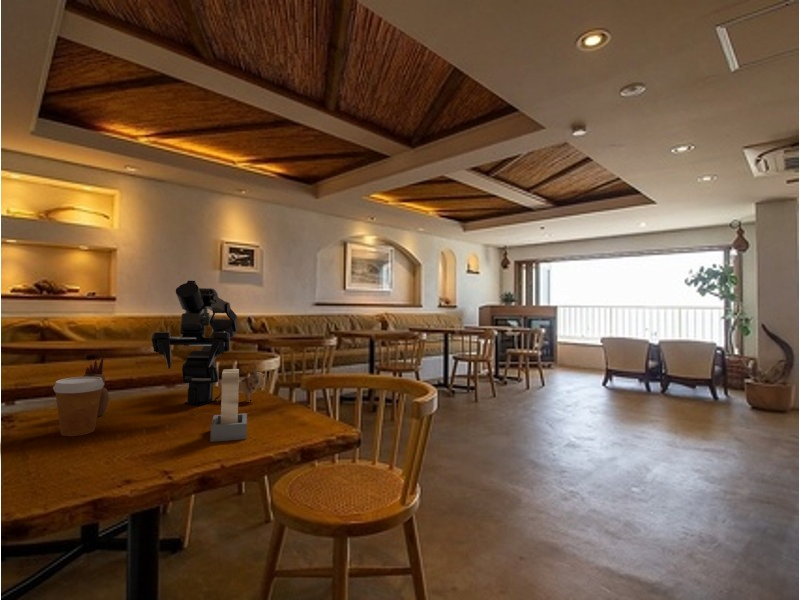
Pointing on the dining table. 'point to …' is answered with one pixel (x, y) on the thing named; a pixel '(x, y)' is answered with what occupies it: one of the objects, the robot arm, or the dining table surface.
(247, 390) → the lion figurine
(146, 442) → the dining table surface
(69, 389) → the disposable coffee cup
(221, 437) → the end cap
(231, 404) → the slat
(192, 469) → the dining table surface
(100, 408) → the wooden figurine
